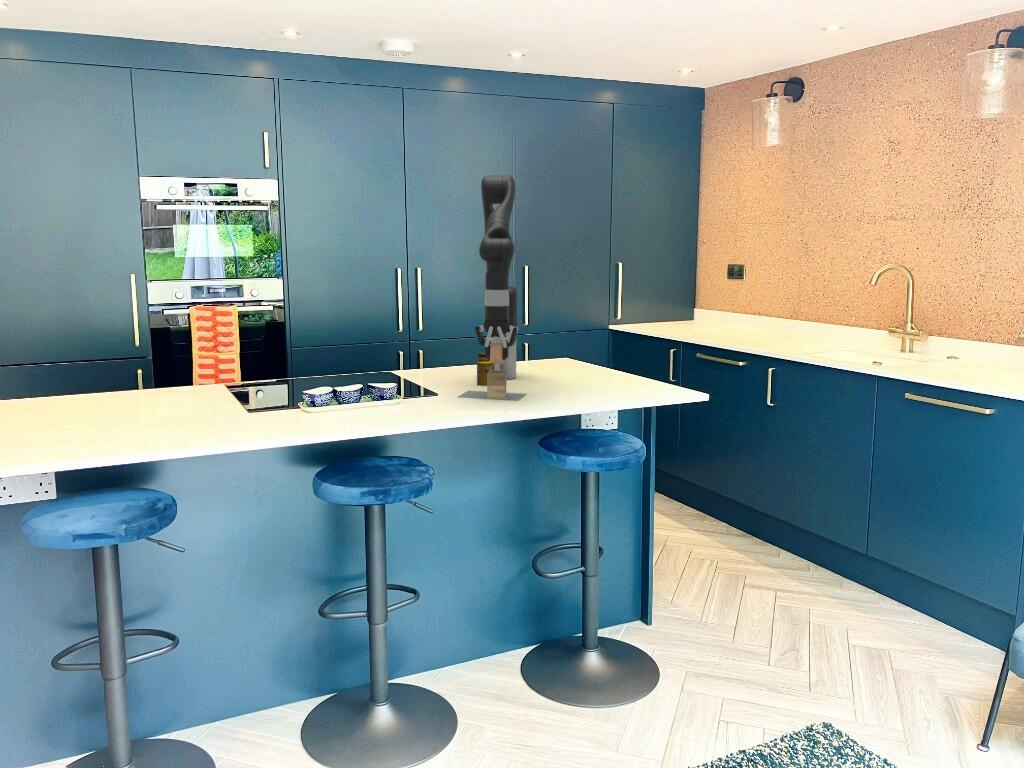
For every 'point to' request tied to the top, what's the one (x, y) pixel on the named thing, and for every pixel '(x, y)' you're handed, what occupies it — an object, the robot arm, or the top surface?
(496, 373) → the block top
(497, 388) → the block base
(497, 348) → the pink cylinder
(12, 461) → the top surface
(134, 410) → the top surface
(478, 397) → the board
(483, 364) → the condiment
